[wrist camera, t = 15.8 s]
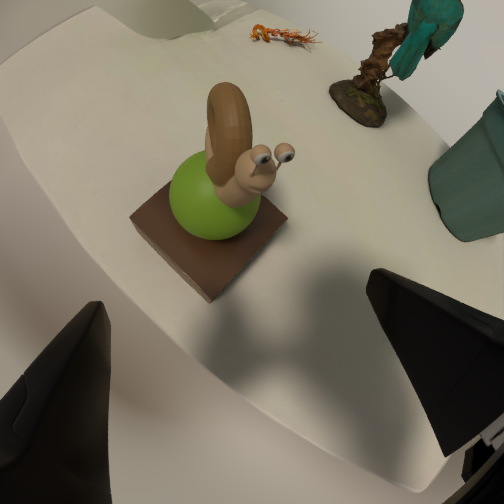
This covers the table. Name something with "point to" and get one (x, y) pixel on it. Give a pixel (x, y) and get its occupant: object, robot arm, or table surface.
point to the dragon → (282, 34)
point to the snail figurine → (224, 171)
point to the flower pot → (473, 178)
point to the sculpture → (397, 57)
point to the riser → (203, 243)
